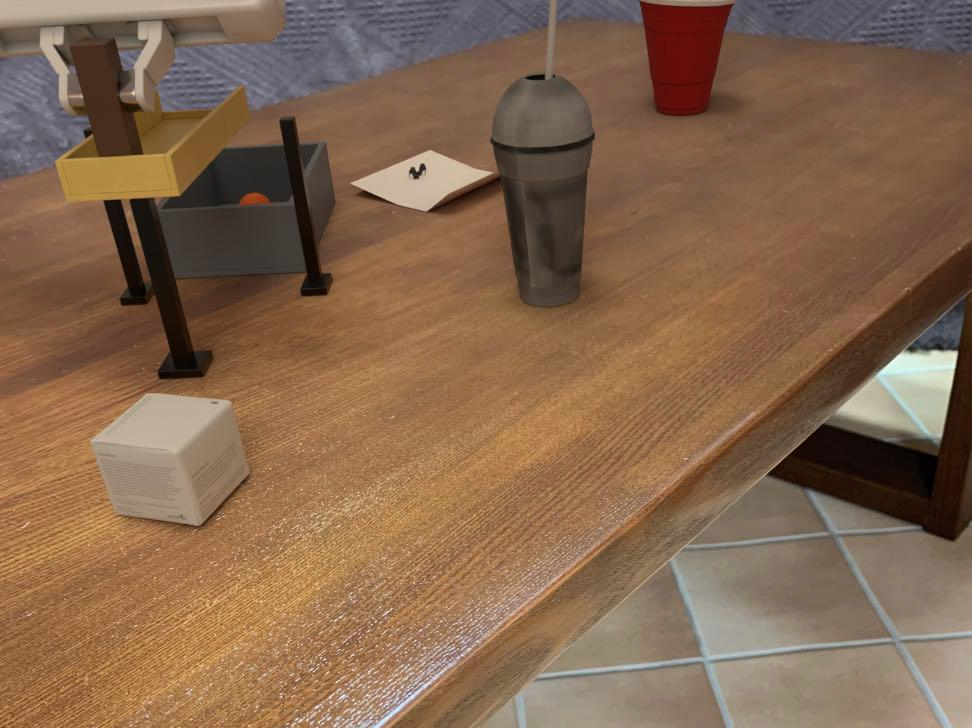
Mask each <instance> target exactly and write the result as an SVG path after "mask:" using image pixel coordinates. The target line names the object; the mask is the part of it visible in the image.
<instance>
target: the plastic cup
mask: <svg viewBox="0 0 972 728" xmlns="http://www.w3.org/2000/svg"><path fill="white" fill-rule="evenodd" d="M736 2H738V0H638V3H639V6H640V13H641V15H642V26H643V27H644V35H645V43H646V52H647V59H648V60H647V61H648V68H649V75H650V79H651V84H652V92H653V101H654V104H655V107H656V111H657V112H659V113H661V114H664V115H665V114H666V115H672V116H687V115H689V116H690V115H696V114H700V113H703V112H705V111H706V110H707V109H708V105H709V103H710V101H711V94H712V89H713V83H714V78H715V77H716V73H717V67H718V64H719V58H720V53H721V51H722V50H721V49H722V44H723V39H724V35H725V30H726V27H727V25H728V20H729V17H730V15H731V13H732V12H731V11H732V9H733V7H734V6H735V3H736Z"/></svg>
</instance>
